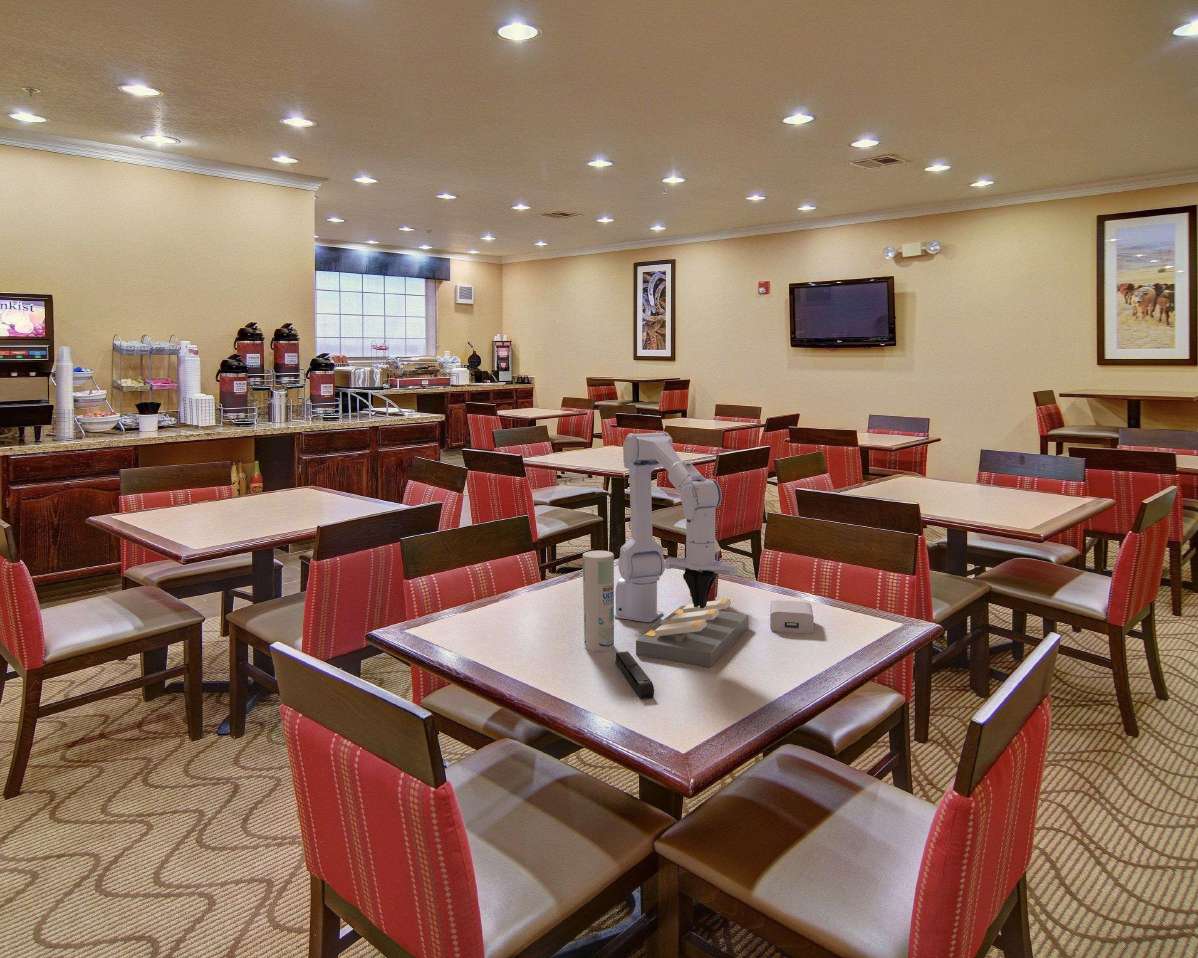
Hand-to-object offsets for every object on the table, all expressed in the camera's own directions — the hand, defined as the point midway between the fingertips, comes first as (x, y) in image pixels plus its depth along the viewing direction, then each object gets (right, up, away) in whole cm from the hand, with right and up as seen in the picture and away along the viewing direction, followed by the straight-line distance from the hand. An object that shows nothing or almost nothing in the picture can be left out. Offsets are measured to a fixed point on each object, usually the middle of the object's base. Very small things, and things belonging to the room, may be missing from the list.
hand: (700, 606), depth 152 cm
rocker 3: (+4, -4, +17) cm, 17 cm away
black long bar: (-14, -13, -10) cm, 21 cm away
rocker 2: (0, -5, +10) cm, 11 cm away
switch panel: (0, -9, +10) cm, 14 cm away
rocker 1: (-4, -6, +3) cm, 7 cm away
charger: (+24, -8, +22) cm, 33 cm away
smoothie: (+6, -5, +39) cm, 39 cm away
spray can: (-20, -10, +8) cm, 24 cm away
